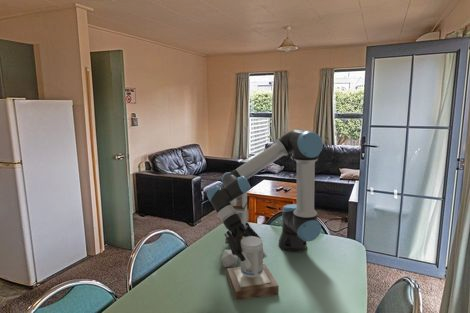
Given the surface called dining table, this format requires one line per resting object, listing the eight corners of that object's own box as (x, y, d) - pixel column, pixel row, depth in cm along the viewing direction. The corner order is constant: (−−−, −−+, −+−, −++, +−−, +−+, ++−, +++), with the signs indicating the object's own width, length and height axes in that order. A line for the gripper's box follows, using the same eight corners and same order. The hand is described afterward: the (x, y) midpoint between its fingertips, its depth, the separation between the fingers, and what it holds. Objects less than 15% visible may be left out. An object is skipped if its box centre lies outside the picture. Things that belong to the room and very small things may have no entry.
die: (232, 273, 145) (242, 255, 147) (216, 263, 146) (227, 245, 148) (232, 270, 153) (242, 253, 155) (217, 261, 154) (227, 244, 156)
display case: (229, 233, 188) (229, 177, 182) (247, 235, 186) (247, 178, 179) (225, 241, 177) (224, 182, 171) (244, 243, 175) (243, 183, 168)
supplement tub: (255, 264, 140) (256, 234, 138) (267, 275, 132) (267, 242, 129) (236, 269, 136) (236, 238, 134) (246, 280, 128) (247, 247, 125)
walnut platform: (265, 271, 146) (265, 263, 145) (278, 294, 128) (278, 285, 128) (227, 276, 142) (227, 267, 141) (235, 300, 125) (235, 291, 124)
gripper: (241, 214, 149) (268, 256, 141) (207, 229, 133) (235, 276, 125) (250, 206, 145) (277, 249, 137) (215, 220, 128) (244, 269, 121)
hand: (257, 262), depth 131 cm, fingers closed on supplement tub, 9 cm apart
